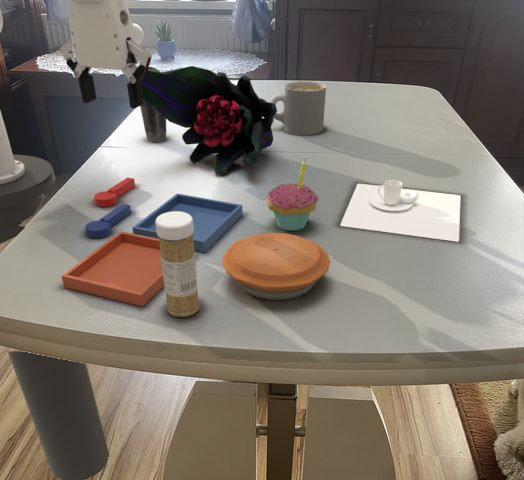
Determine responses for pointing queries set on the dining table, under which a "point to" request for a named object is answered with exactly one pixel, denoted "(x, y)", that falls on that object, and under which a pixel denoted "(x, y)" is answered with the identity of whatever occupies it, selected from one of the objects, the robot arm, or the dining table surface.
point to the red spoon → (113, 193)
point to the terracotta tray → (120, 270)
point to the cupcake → (292, 203)
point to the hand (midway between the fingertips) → (113, 103)
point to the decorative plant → (212, 113)
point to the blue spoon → (107, 222)
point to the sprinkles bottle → (178, 262)
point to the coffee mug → (302, 107)
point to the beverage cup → (153, 120)
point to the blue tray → (195, 218)
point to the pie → (276, 265)
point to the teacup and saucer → (404, 211)
